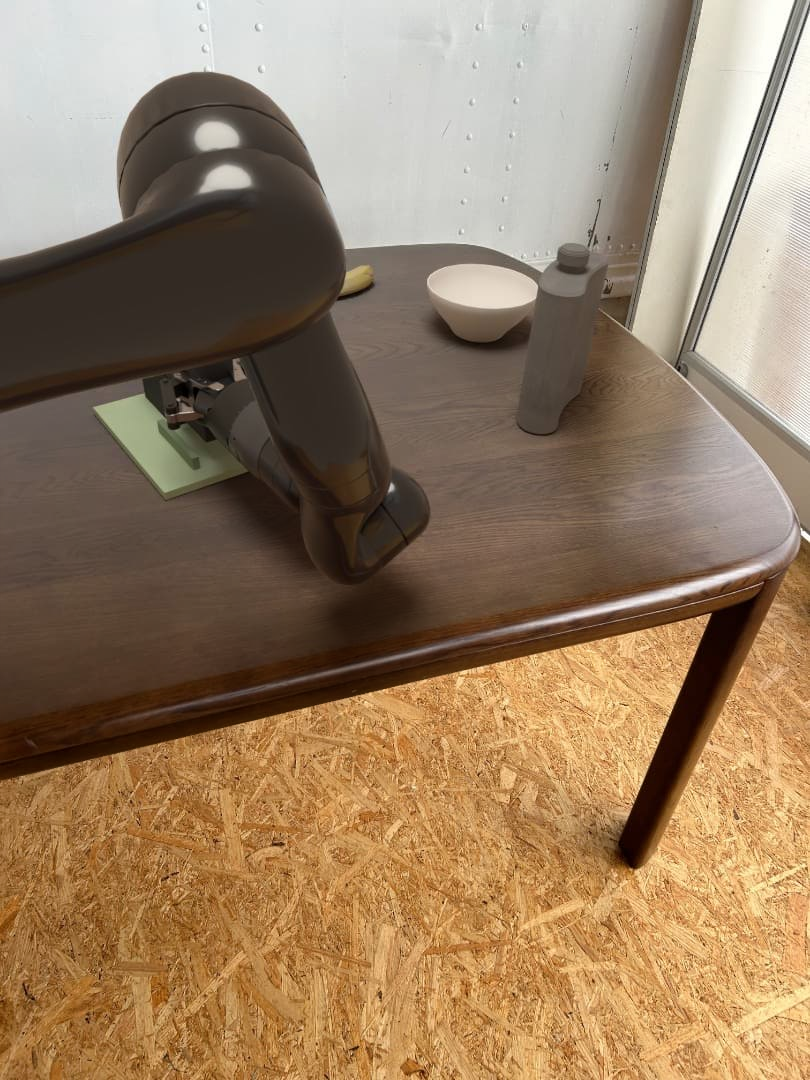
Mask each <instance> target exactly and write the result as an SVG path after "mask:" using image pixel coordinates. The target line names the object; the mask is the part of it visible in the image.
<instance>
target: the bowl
mask: <svg viewBox="0 0 810 1080" xmlns="http://www.w3.org/2000/svg"><path fill="white" fill-rule="evenodd" d="M426 287H427V288H426V289H427V295H428V298H429V300H430V302H431V304H432V306H433V308H434V309H435V310H436V312H437V313H438V314H439V315H440V317H441V318H442V319H443V320H444V321H445V323H447V325H448V326H449V328H450V330H451V331H452V333H453V334H454V335H455V336H456V337H457V338H460V339H461V340H465V341H467V342H472V343H473V342H474V343H491V342H495V341H498V340H500V339H501V338H502V337H503V336H504V335H506V333H507V332H508V331H510V330H512V328H513V327H515V326H517V325H518V324H520V323H521V322H522V321H523V320H524V319H525V318H526V317H527V316H528V315H530V313H531V312H532V311H533V310H534V308H535V302H536V296H537V290H538V283H537V282H535V280H533V279H532V278H531V277H529V276H527V275H526V274H524V273H522V272H520V271H517V270H515V269H512V268H507V267H503V266H498V265H493V264H492V265H491V264H485V263H484V264H483V263H462V264H461V263H460V264H453V265H449V266H444V267H442V268H439V269H436V270H435V271H433V272H432V273H431V274H430V275H429V276H428V277H427V279H426Z"/></svg>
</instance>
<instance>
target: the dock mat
mask: <svg viewBox="0 0 810 1080" xmlns="http://www.w3.org/2000/svg"><path fill="white" fill-rule="evenodd" d="M162 379H164V377H163V375H159V376H154V377H149V378H144V379H141V381H142V385H143V391H144V393H143V392H142V393H140V394H136V395H132V396H130V397H125V398H122V399H118V400H115V401H111V402H107V403H104V404H100V405H96V406H93V407H92V409H93V413H94V416H95V417H96V418H97V419H98V421H99V422H100V423H101V424H102V425H103V427H104V428H105V429H106V430H107V431H108V432H109V434H110V435H111V436H112V437H113V439H114V440H115V441H116V442H117V443H118V445H119V446H120V447H121V449H123V451H124V452H125V453H126V454H127V456H128V457H129V458H130V459H131V460H132V461H133V463H134V464H135V465H136V467H138V469H139V470H140V471H141V473H142V474H143V475H144V476H145V477H146V478H147V479H148V481H149V482H150V483H151V485H153V487H154V488H155V489H156V490H157V492H158V493H159V494H160V495H161V496H162V498H163V500H165V501H168V500H170V499H174V498H176V497H179V496H182V495H185V494H188V493H191V492H194V491H196V490H199V489H202V488H205V487H208V486H211V485H213V484H217V483H219V482H222V481H225V480H228V479H231V478H234V477H237V476H240V475H242V474H245V473H247V472H249V471H248V470H247V469H246V468H245V467H244V466H243V465H242V464H241V463H240V462H238V461H237V460H236V458H235V457H234V456H233V455H232V454H231V453H230V452H229V451H228V450H227V449H226V448H225V447H224V446H223V445H222V444H221V443H220V442H219V441H218V440H214V441H211V442H208V443H206V442H205V441H204V440H203V439H202V438H201V437H200V436H199V435H198V434H197V433H196V432H195V431H194V430H193V429H192V428H191V427H190V426H189V425H188V424H187V423H186V422H185V421H183V422H180V425H181V427H180V428H179V429H177V430H170V429H168V426H167V420H166V415H165V410H164V405H163V398H162V392H161V387H160V380H162Z"/></svg>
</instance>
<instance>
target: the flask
mask: <svg viewBox="0 0 810 1080" xmlns="http://www.w3.org/2000/svg"><path fill="white" fill-rule="evenodd" d="M609 263H610V260H609V258H607V257H606V256H605V255H603V254H602V253H599V252H597V251H593V250H590V249H589V248H588V247H587V246H586V245H585V244H581V243H576V242H567V243H564V244H561V246H559V247H558V249H557V255H556V259H555V260H554V261H552V262H551V263H550V264H548V265H547V266H546V268H545V269H544V270H543V272H542V273H541V275H540V277H539V280H538V283H537V285H538V290H537V296H536V302H535V306H534V308H533V315H532V320H531V326H530V331H529V332H530V333H529V339H528V344H527V345H528V346H527V352H526V358H525V364H524V369H523V376H522V381H521V388H520V393H519V394H520V395H519V400H518V405H517V410H516V411H517V413H516V422H517V424H518V426H519V427H520V428H521V429H522V430H524V431H525V432H528V433H530V434H533V435H534V434H535V435H548V434H551V433H554V432H555V431H556V430H557V429H558V426H559V421H560V418H561V414H562V412H563V411H564V409H565V407H566V406H567V405H568V404H569V403H570V402H571V401H572V400H573V399H575V398H576V397H577V396H579V395H580V394H581V390H582V385H583V381H584V377H585V372H586V367H587V364H588V359H589V355H590V350H591V345H592V340H593V337H594V336H593V335H594V331H595V327H596V323H597V319H598V318H597V317H598V313H599V309H600V305H601V300H602V295H603V291H604V285H605V282H606V277H607V273H608V268H609Z"/></svg>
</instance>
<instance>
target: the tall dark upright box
mask: <svg viewBox="0 0 810 1080" xmlns="http://www.w3.org/2000/svg"><path fill="white" fill-rule="evenodd" d="M231 368H234V367H233V360H229V361H225V362H221V363H217V364H212V365H207V366H203V367H198V368H193V369H188V370H184V371H185V373H187V374H189V375H191V376H192V377H193V376H196V377H197V378H198V377H204V378H206V379H208V380H210V381H219V380H221V379H223V378H225V377H229V376H230V374H229V369H231ZM178 398H179V397H178ZM176 399H177V398H176ZM181 403H184V404H185V405H186V406H187V407H191V406H190V404H189V403H188V402H186V401H184V400H182V399H181ZM185 422H186V423H187V424H188V425H189V426H190V427H191V428H192V429H193V430H194V431H195V432H196V433H197V434H198V435H199V436H200V437H201V438H202V439H203V440H204V441H205V442H206V443H208V442H211V441H214V440H217V439H216V438H215V436H214V435H213V433H212V432H211V430H210V429H209V428H208V427H206V426H203V425H200V424H198V423H197V422H196V421H195V420H191V421H185Z"/></svg>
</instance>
